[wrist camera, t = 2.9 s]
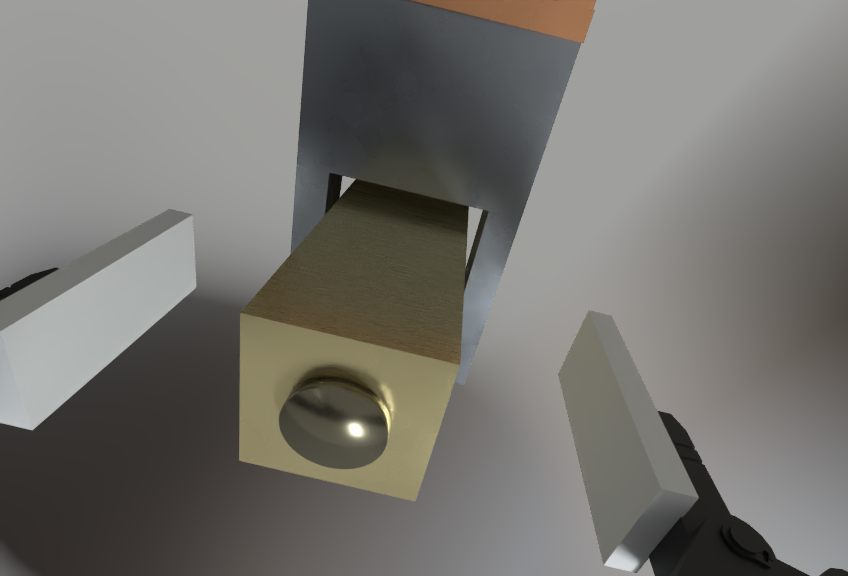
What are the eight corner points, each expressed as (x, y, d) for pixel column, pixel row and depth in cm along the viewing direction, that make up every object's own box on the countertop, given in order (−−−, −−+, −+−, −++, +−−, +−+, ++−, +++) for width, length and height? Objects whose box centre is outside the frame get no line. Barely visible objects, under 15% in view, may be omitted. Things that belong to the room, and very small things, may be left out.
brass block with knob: (343, 275, 20) (231, 474, 11) (357, 177, 18) (230, 324, 9) (442, 299, 20) (413, 516, 11) (468, 204, 18) (459, 378, 9)
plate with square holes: (300, 317, 21) (281, 346, 19) (369, -464, 10) (342, -586, 8) (465, 356, 21) (463, 389, 19) (706, -376, 10) (761, -476, 8)
